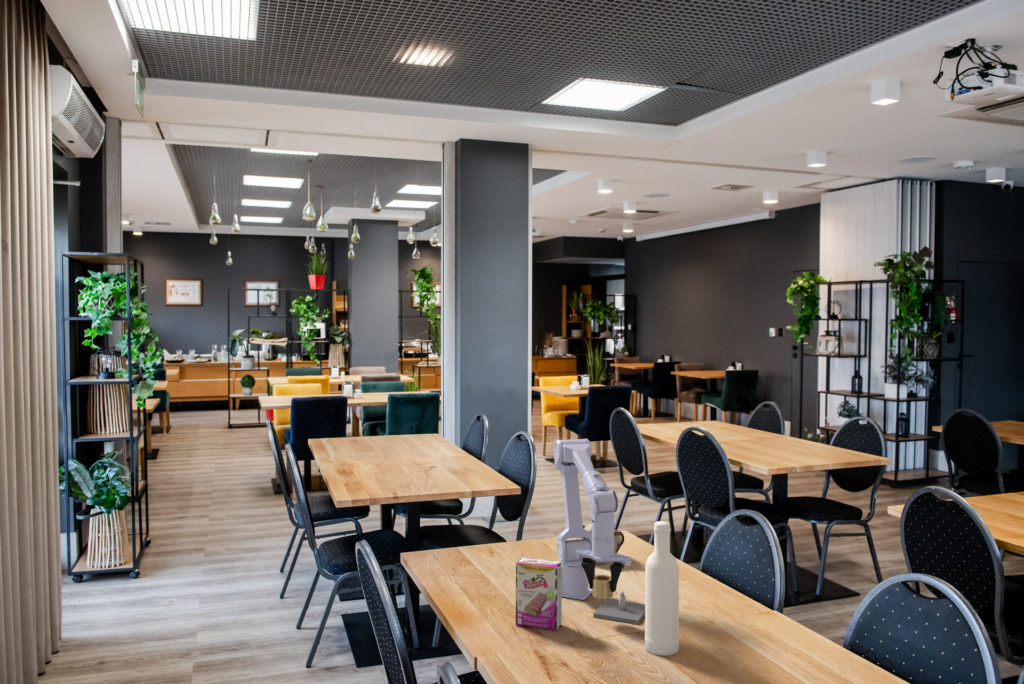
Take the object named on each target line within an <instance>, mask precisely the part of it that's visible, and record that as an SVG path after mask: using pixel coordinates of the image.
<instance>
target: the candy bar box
mask: <svg viewBox="0 0 1024 684" xmlns="http://www.w3.org/2000/svg"><path fill="white" fill-rule="evenodd" d="M558 561H559V560H557V561H556V560H549V559H548V560H547V559H538V558H530V557H521V558H519V559H518V560H517V561H516V562H515V625H516V626H522V627H527V628H536V629H543V630H547V631H548V630H550V631H555V632H557V630H558V629H559V628H560V626H561V625H562V622H563V621H562V614H563V613H562V610H563V609H562V600H563V599H562V598H563V597H562V562H558Z"/></svg>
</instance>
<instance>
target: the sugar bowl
mask: <svg viewBox="0 0 1024 684" xmlns="http://www.w3.org/2000/svg"><path fill="white" fill-rule="evenodd" d="M583 528H584V529H585V530H587V531H588V532H589V533H590V534H591V535H592V523H591V524H588V525H584V524H583ZM579 539H583V538H575V540H579ZM624 542H625V536H624V533H623V531H621V530H617V529H616V528H615V527H614V553H617V554H618V552H619V551H620V549H621V547H622V546H623V545H624ZM607 563H609V562H602V561H596V564H607Z"/></svg>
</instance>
